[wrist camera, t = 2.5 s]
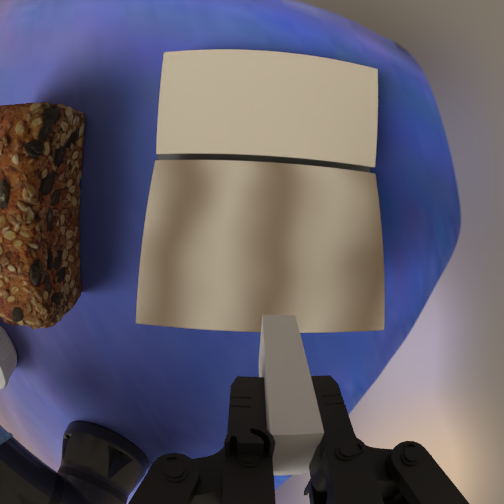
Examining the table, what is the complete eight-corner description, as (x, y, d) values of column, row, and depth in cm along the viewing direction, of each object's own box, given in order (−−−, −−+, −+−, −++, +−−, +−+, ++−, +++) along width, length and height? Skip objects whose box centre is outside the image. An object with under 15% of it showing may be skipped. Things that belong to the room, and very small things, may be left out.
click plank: (145, 322, 19) (135, 323, 17) (161, 172, 21) (155, 160, 19) (371, 328, 19) (384, 329, 17) (365, 184, 21) (375, 173, 19)
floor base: (164, 289, 26) (155, 305, 23) (168, 64, 19) (157, 53, 16) (347, 296, 26) (357, 311, 23) (368, 79, 20) (383, 70, 17)
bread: (22, 114, 20) (-46, 112, 10) (99, 110, 20) (28, 94, 11) (19, 278, 25) (-34, 317, 16) (88, 299, 26) (37, 354, 17)
